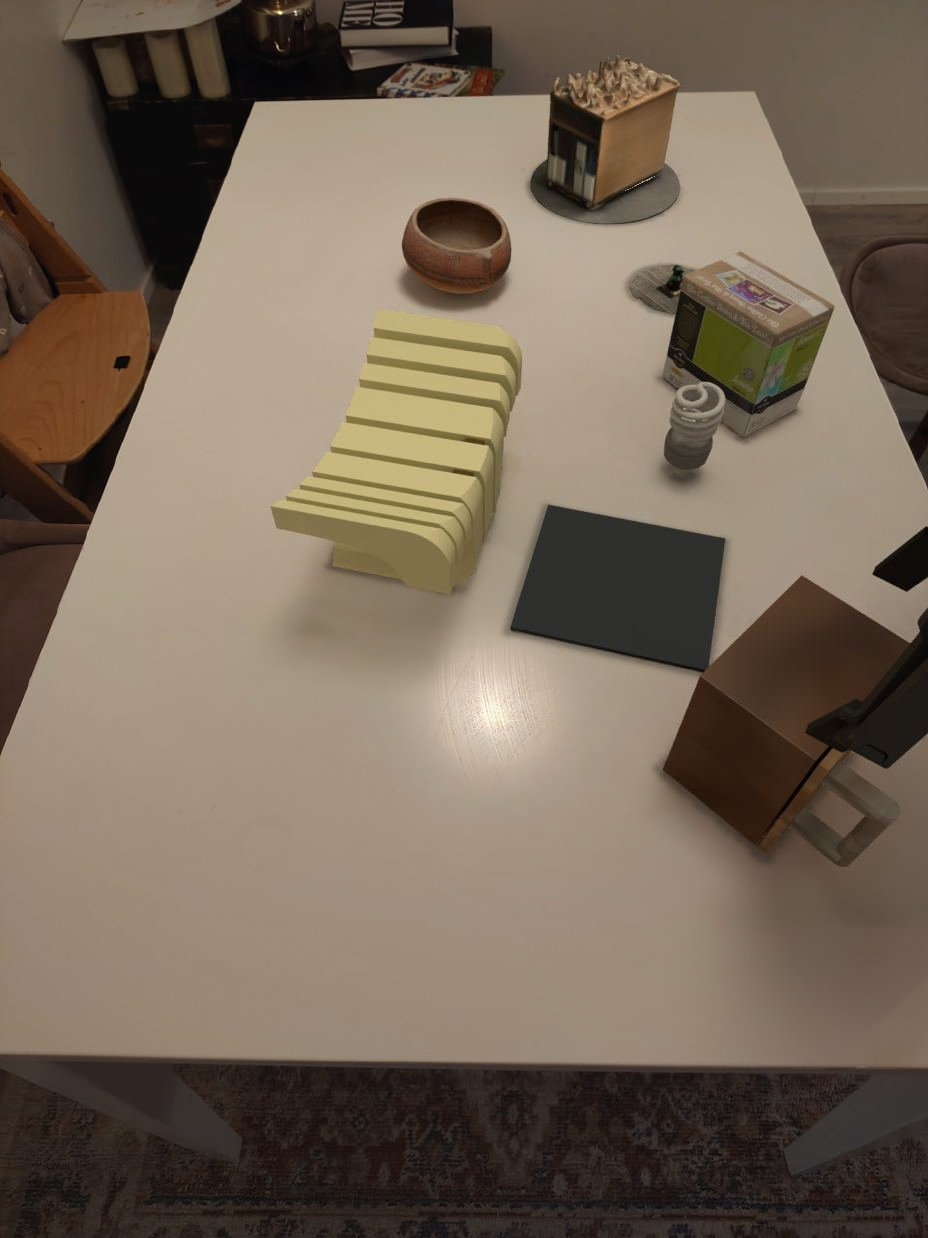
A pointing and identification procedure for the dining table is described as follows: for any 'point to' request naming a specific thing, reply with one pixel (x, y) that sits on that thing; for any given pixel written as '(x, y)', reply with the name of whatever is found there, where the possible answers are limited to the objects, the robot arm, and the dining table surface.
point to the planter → (609, 145)
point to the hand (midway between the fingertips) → (858, 655)
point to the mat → (623, 587)
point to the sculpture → (660, 286)
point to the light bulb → (693, 426)
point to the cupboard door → (851, 790)
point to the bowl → (457, 245)
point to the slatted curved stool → (415, 453)
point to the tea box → (746, 338)
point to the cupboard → (776, 704)
